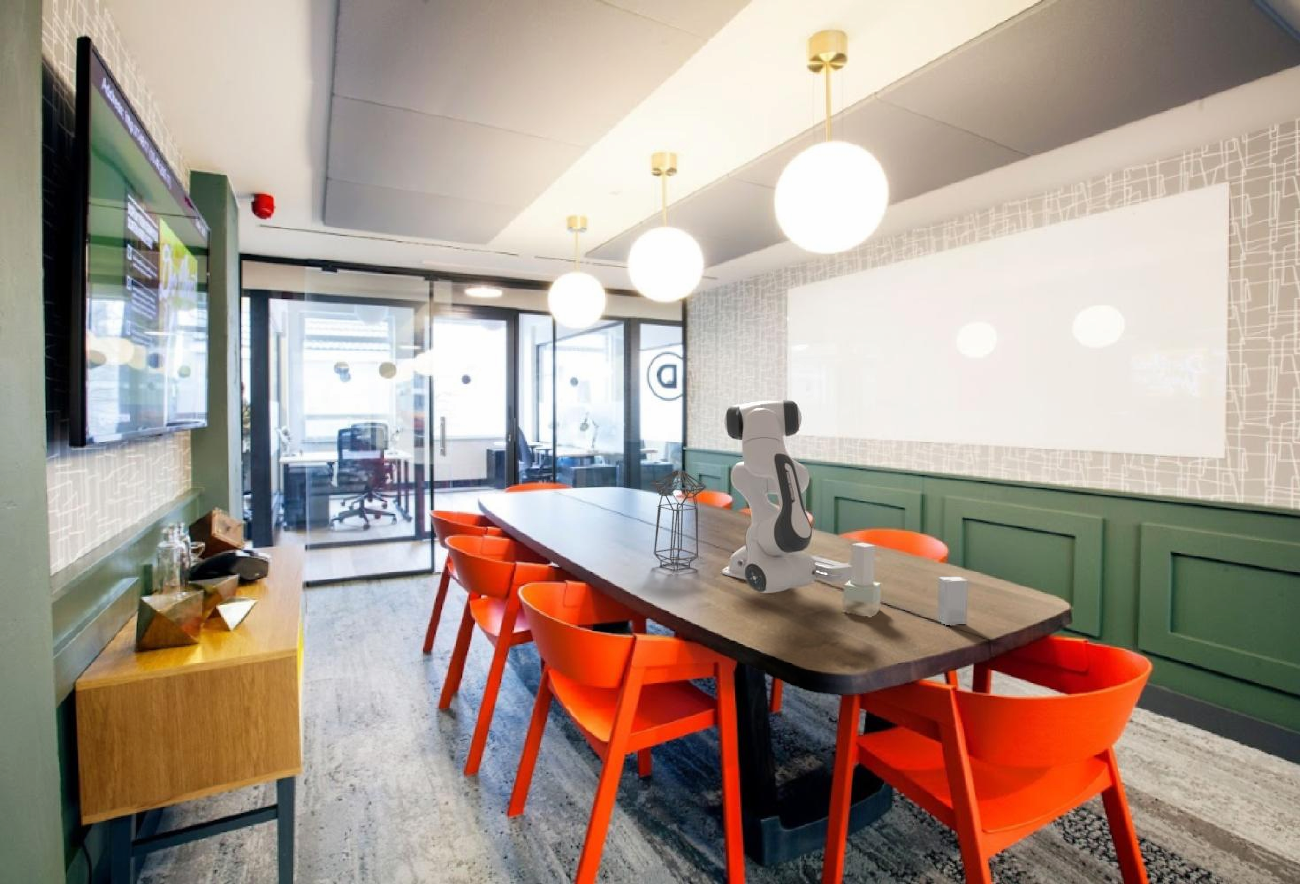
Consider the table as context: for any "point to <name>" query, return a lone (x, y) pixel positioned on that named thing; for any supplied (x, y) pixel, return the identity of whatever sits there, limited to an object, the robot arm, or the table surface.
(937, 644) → the table surface
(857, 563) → the tall grey block
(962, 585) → the skincare box
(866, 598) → the sage block
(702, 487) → the geometric lantern
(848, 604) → the ash block
